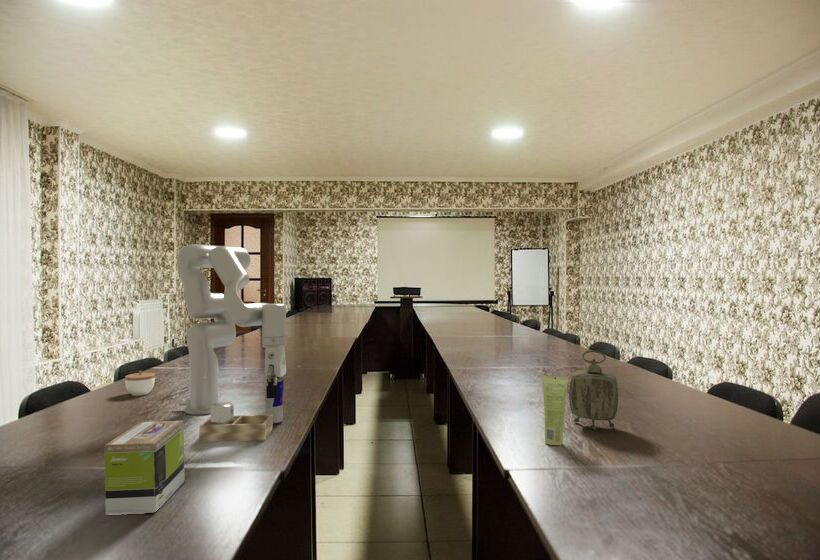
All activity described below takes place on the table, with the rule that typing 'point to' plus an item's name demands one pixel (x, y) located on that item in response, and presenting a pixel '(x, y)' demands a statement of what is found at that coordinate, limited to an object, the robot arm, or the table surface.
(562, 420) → the tube
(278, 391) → the beverage can
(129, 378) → the lidded jar
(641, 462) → the table surface
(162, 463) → the tea box
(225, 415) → the grey rounded cylinder
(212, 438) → the caddy
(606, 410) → the tabletop clock
